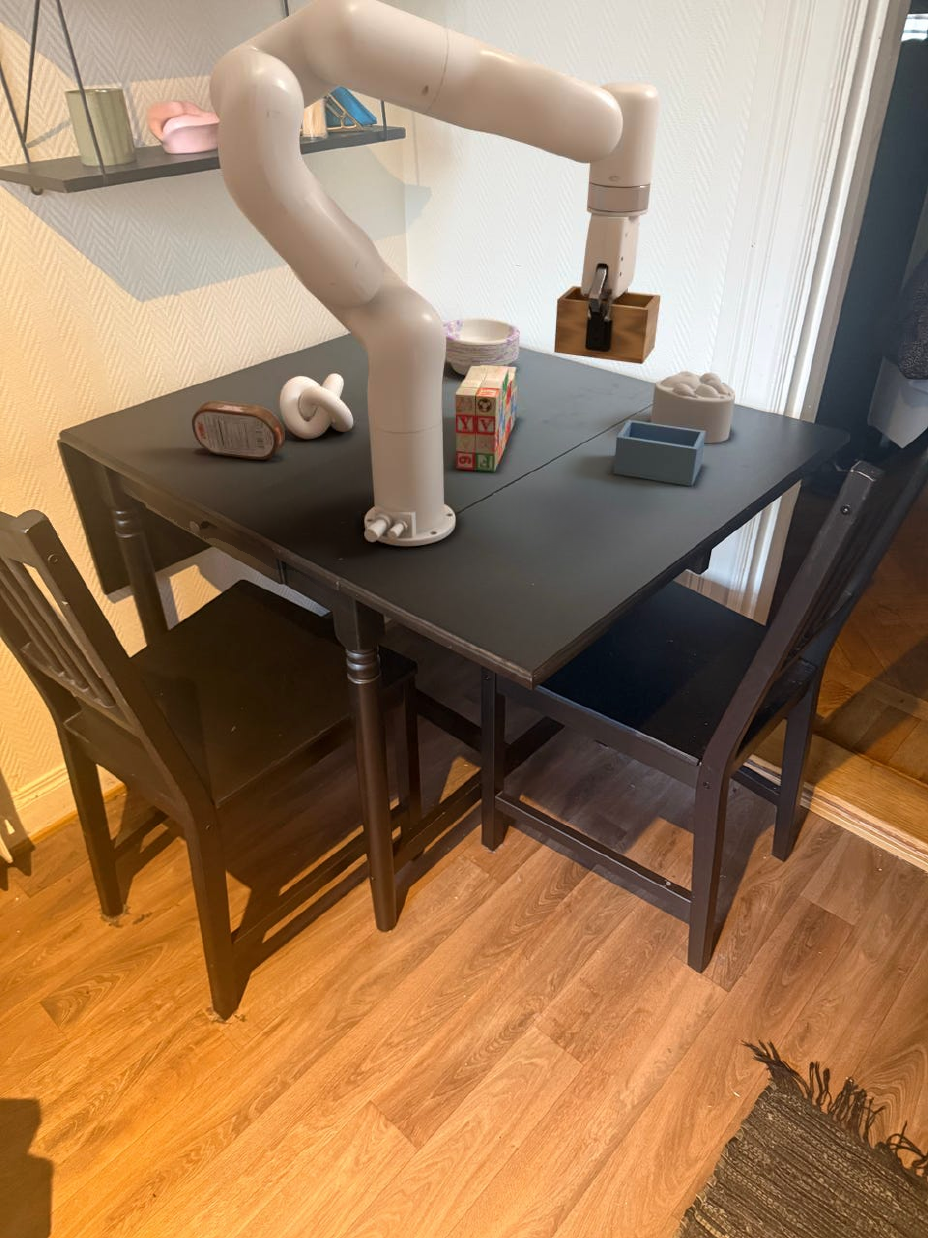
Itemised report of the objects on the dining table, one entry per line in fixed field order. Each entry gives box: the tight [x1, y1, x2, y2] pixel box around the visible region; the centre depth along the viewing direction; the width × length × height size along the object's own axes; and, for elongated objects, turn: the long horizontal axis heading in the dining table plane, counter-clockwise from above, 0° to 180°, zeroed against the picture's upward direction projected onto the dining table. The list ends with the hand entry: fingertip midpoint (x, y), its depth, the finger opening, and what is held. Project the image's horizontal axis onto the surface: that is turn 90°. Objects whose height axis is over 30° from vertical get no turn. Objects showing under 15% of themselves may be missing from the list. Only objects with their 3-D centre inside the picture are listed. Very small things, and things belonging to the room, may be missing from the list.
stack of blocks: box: [454, 365, 518, 473], centre depth 148 cm, size 21×6×12 cm, turn 168°
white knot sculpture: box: [279, 373, 354, 440], centre depth 154 cm, size 11×12×9 cm
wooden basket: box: [553, 285, 661, 365], centre depth 123 cm, size 12×7×7 cm, turn 68°
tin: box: [191, 400, 286, 461], centre depth 146 cm, size 15×3×8 cm, turn 74°
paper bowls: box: [443, 317, 521, 377], centre depth 178 cm, size 15×15×8 cm
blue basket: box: [612, 419, 706, 487], centre depth 141 cm, size 12×7×6 cm, turn 68°
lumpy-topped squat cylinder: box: [650, 370, 736, 444], centre depth 153 cm, size 10×13×9 cm
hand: (605, 340), depth 124 cm, fingers closed on wooden basket, 7 cm apart
